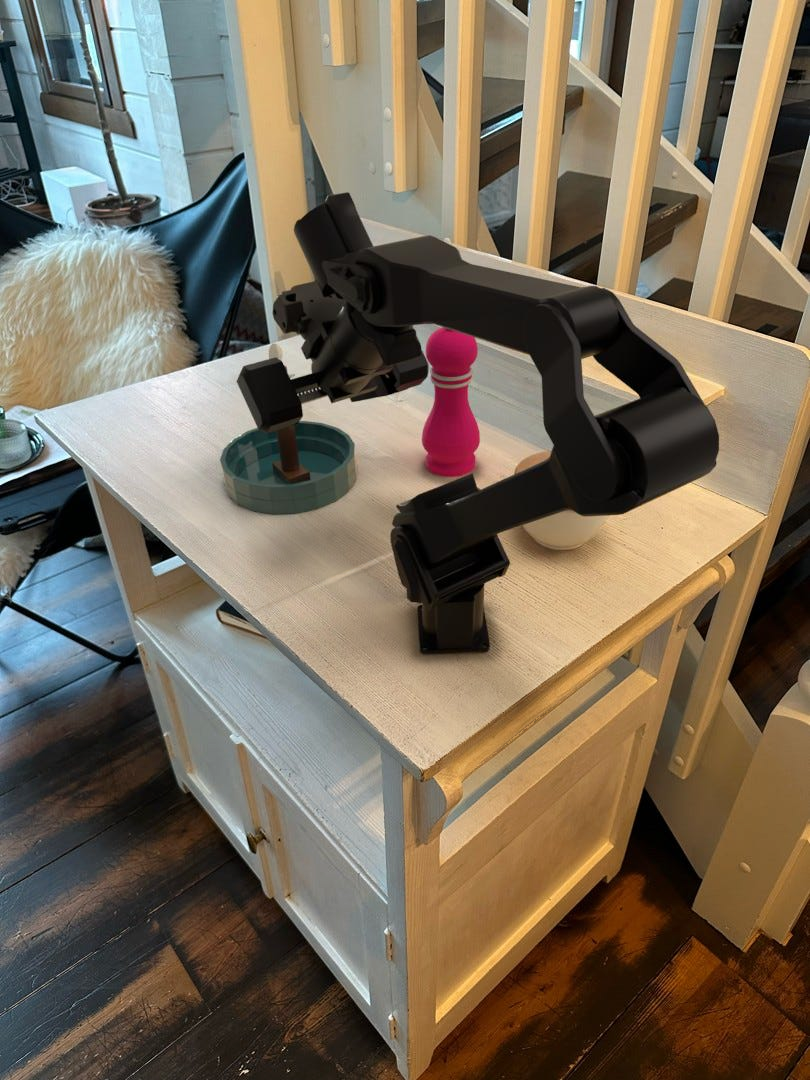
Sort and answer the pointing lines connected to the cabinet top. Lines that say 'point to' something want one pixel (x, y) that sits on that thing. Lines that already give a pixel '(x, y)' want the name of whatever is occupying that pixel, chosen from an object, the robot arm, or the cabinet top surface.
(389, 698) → the cabinet top surface
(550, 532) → the trinket box
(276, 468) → the brown wooden post
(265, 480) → the bowl
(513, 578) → the cabinet top surface
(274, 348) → the pacifier
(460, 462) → the pepper mill
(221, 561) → the cabinet top surface
